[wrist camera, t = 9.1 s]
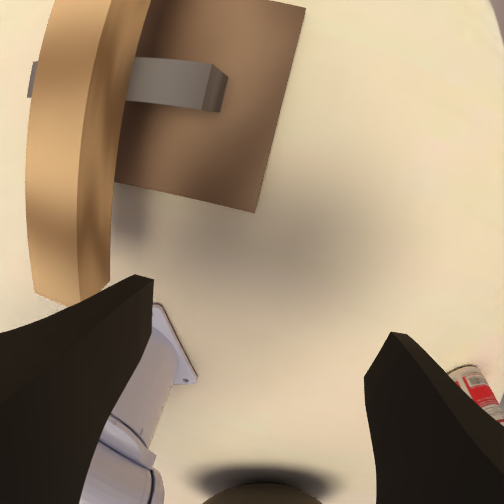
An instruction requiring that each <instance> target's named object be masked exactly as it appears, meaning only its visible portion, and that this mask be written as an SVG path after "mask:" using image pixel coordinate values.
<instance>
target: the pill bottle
mask: <svg viewBox="0 0 504 504" xmlns="http://www.w3.org/2000/svg"><path fill="white" fill-rule="evenodd" d="M448 375H449V376H450V378H451V379H452V380H453V381H454V382H455V383H456V384H457V385H458V386H459V387H460V388H461V389H462V390H463V391H464V392H465V393H466V394H467V395H468V396H469V397H470V398H471V399H472V400H473V401H474V402H476V403H477V404H478V405H479V406H480V407H481V408H482V409H483V410H484V411H486V412H487V413H488V414H489V415H490V416H492V417H493V418H494V419H495V420H496V421H498V422H499V423H500V424H501V425H503V426H504V413H503V411H502V409H501V407H500V405H499V403H498V401H497V400H496V398H495V396H494V394H493V392H492V390H491V389H490V387H489V385H488V383H487V381H486V379H485V378H484V376H483V375H482V373H481V371H480V370H479V369H478V368H476V367H473V366H467V367H463V368H460V369H457V370H455V371H453V372H451V373H450V374H448Z"/></svg>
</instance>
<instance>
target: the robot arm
mask: <svg viewBox="0 0 504 504" xmlns="http://www.w3.org/2000/svg"><path fill="white" fill-rule="evenodd" d="M153 286H154V279H150V278H146V277H143V276H139V275H136V274H135V275H132V276H130V277H128V278H126V279H124V280H122V281H120V282H118V283H116V284H114V285H112V286H110V287H108V288H106V289H105V290H103V291H101V292H99V293H97V294H95V295H93V296H91V297H89V298H87V299H85V300H83V301H81V302H79V303H77V304H75V305H72V306H70V307H68V308H66V309H64V310H62V311H59V312H57V313H55V314H53V315H51V316H48V317H46V318H44V319H41V320H39V321H36V322H33V323H31V324H28V325H25V326H22V327H19V328H16V329H13V330H10V331H6V332H3V333H0V504H163V503H164V486H163V481H162V477H161V474H160V473H159V472H158V470H156V469H155V468H153V464H154V461H155V458H156V454H154V453H153V452H151V451H150V450H148V449H149V446H150V443H151V440H152V438H153V435H154V432H155V429H156V427H157V424H158V421H159V418H160V416H161V413H162V410H163V408H164V405H165V402H166V399H167V397H168V394H169V391H170V389H171V386H172V385H178V384H194V383H196V382H197V379H198V378H197V376H196V374H195V372H194V370H193V368H192V366H191V365H190V363H189V361H188V359H187V357H186V355H185V353H184V351H183V349H182V347H181V345H180V343H179V341H178V339H177V337H176V335H175V333H174V331H173V329H172V327H171V325H170V323H169V321H168V319H167V316H166V314H165V312H164V310H163V308H162V307H161V306H160V305H156V304H154V305H153ZM152 313H153V314H152ZM364 393H365V406H366V412H367V417H368V423H369V429H370V434H371V440H372V446H373V452H374V458H375V465H376V481H377V498H376V504H504V426H503V425H501V424H500V423H499V422H498V421H496V420H495V419H494V418H493V417H492V416H490V415H489V414H488V413H487V412H486V411H484V410H483V409H482V408H481V407H480V406H479V405H478V404H477V403H476V402H474V401H473V400H472V399H471V398H470V397H469V396H468V395H467V394H466V393H465V392H464V391H463V390H462V389H461V388H460V387H459V386H458V385H457V384H456V383H455V382H454V381H453V380H452V379H451V378H450V376H449V375H448V374H447V373H446V372H445V371H444V370H443V369H442V368H441V367H440V366H439V365H438V364H437V363H436V362H435V361H434V360H433V359H432V358H431V357H430V356H429V355H428V353H427V352H426V351H425V350H424V349H423V348H422V347H421V346H420V345H418V344H417V343H416V342H415V341H414V340H413V339H412V338H411V337H409V336H408V335H407V334H402V333H396V332H390V334H389V336H388V338H387V339H386V341H385V343H384V345H383V346H382V348H381V350H380V352H379V353H378V355H377V357H376V358H375V360H374V362H373V363H372V365H371V367H370V368H369V370H368V371H367V373H366V375H365V376H364Z"/></svg>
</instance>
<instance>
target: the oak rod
mask: <svg viewBox="0 0 504 504" xmlns="http://www.w3.org/2000/svg"><path fill="white" fill-rule="evenodd" d="M150 2H151V0H55V2H54V5H53V8H52V11H51V15H50V18H49V21H48V24H47V28H46V32H45V35H44V39H43V43H42V47H41V51H40V55H39V60H38V65H37V69H36V75H35V80H34V86H33V92H32V99H31V106H30V114H29V123H28V134H27V148H26V174H25V194H26V220H27V235H28V246H29V255H30V263H31V271H32V278H33V284H34V290H35V293H37V294H39V295H41V296H44V297H46V298H48V299H51V300H53V301H55V302H58V303H60V304H63V305H65V306H68V307H70V306H72V305H75V304H77V303H79V302H81V301H83V300H85V299H87V298H89V297H91V296H93V295H95V294H97V293H99V292H100V291H101V290H102V289H103V288H104V286H105V285H106V284H107V283H108V282H109V281H110V236H111V215H112V200H113V187H114V176H115V167H116V158H117V150H118V143H119V136H120V129H121V122H122V116H123V111H124V105H125V100H126V94H127V89H128V84H129V80H130V75H131V71H132V66H133V62H134V58H135V54H136V50H137V46H138V42H139V38H140V35H141V31H142V28H143V24H144V21H145V18H146V14H147V11H148V8H149V5H150Z"/></svg>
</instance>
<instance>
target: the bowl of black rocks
mask: <svg viewBox="0 0 504 504" xmlns="http://www.w3.org/2000/svg"><path fill="white" fill-rule="evenodd" d="M203 504H322V503H321V502H320V501H318V500H317V499H316V498H314V497H313V496H311V495H309V494H307V493H305V492H303V491H301V490H299V489H296V488H293V487H290V486H286V485H280V484H274V483H253V484H245V485H240V486H236V487H233V488H230V489H227V490H224V491H222V492H220V493H218V494H216V495H214V496H213V497H211V498H209V499H208V500H207V501H205V502H204V503H203Z"/></svg>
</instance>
